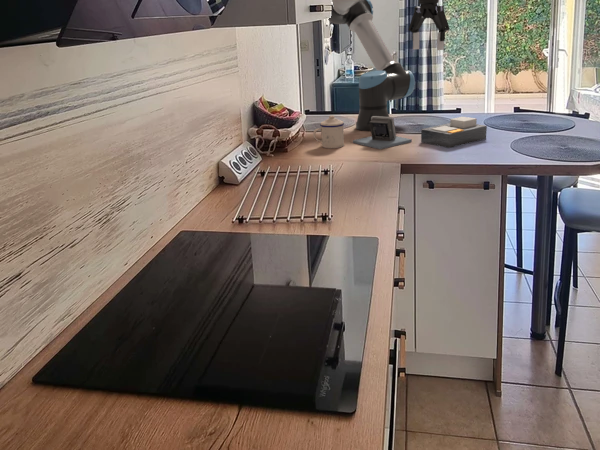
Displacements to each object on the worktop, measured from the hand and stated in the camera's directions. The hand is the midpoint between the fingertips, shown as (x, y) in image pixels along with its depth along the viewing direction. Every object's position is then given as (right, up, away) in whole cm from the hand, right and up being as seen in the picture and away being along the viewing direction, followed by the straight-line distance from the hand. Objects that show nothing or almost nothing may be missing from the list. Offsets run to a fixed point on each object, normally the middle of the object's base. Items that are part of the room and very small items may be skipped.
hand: (428, 49), depth 231 cm
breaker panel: (+7, -38, -12) cm, 41 cm away
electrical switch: (-19, -38, -9) cm, 43 cm away
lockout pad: (-20, -38, -8) cm, 44 cm away
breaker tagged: (+3, -37, -16) cm, 40 cm away
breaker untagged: (+11, -33, -12) cm, 36 cm away
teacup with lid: (-40, -40, -9) cm, 58 cm away
